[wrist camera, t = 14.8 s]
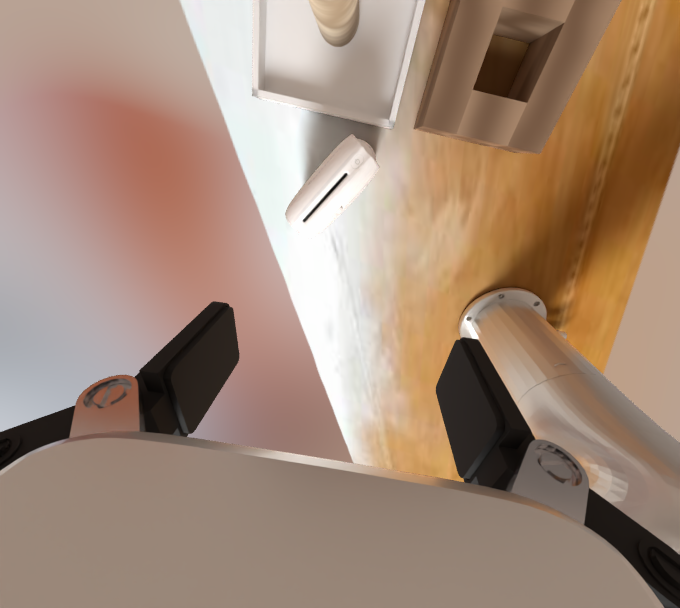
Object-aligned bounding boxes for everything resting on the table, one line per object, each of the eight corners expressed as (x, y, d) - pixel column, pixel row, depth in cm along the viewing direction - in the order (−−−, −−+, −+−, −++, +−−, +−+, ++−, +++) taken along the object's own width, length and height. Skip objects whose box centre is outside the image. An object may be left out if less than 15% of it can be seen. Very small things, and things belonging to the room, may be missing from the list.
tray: (444, -86, 21) (453, -112, 19) (390, 129, 29) (393, 128, 27) (264, -134, 21) (253, -166, 18) (260, 99, 29) (252, 95, 26)
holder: (587, 0, 23) (638, -32, 19) (514, 152, 29) (540, 153, 25) (459, -33, 23) (482, -74, 18) (413, 129, 29) (422, 126, 25)
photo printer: (355, 130, 29) (352, 122, 19) (380, 160, 31) (389, 168, 20) (298, 197, 34) (270, 220, 23) (322, 221, 35) (306, 253, 25)
